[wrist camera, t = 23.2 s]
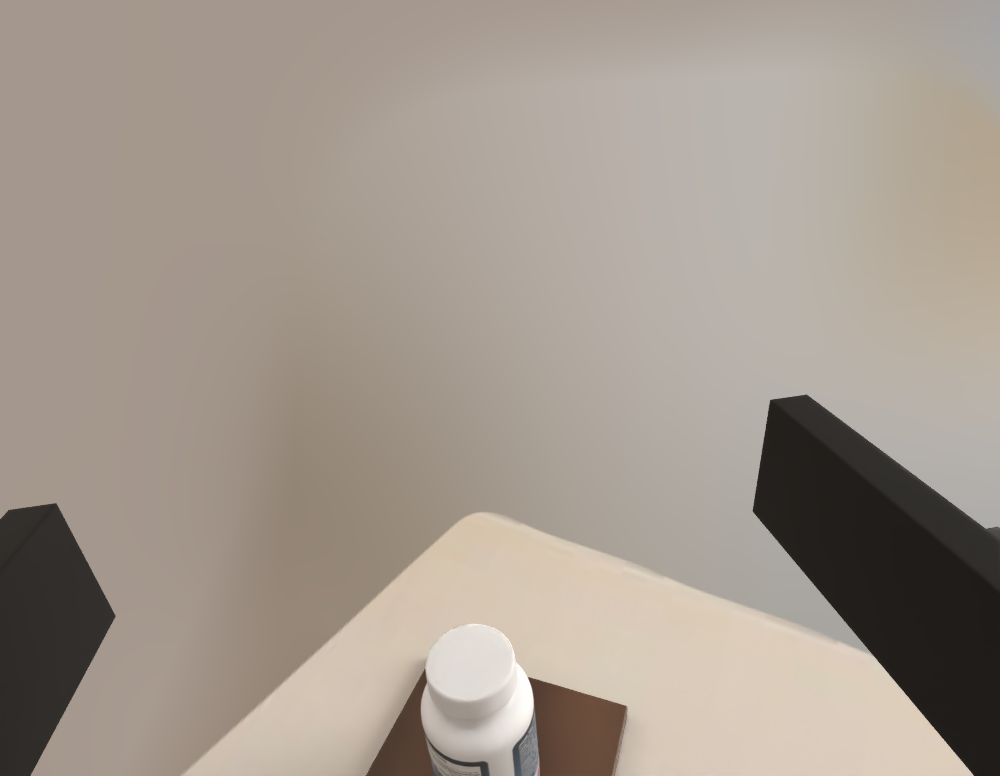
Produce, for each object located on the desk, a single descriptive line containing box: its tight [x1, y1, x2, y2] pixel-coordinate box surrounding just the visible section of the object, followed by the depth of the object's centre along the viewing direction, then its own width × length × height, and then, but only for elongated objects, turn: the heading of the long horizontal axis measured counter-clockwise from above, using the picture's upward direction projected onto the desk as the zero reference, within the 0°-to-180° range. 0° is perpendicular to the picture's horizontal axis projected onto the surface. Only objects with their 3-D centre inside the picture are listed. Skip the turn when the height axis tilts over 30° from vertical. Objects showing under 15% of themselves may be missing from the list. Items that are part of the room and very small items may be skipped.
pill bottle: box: [421, 624, 540, 776], centre depth 28 cm, size 5×5×9 cm
